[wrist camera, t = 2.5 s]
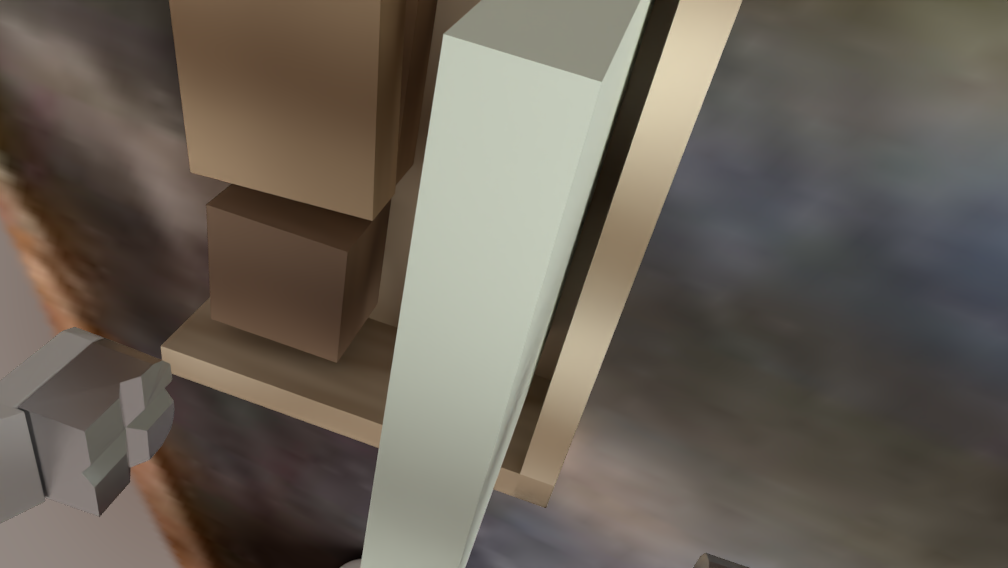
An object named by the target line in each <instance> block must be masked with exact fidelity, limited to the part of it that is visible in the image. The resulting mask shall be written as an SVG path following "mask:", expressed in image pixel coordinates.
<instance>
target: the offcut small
mask: <svg viewBox="0 0 1008 568" xmlns="http://www.w3.org/2000/svg"><path fill="white" fill-rule="evenodd" d="M390 206H391V199H390V200H389V202H388V203H387V204H386V205H385V206H384V208H383V209H382V210H381V211H380V212H379V214H378V215H377V216H376V217H375V219H374V220H373V221H371V220H367V219H363V218H359V217H356V216H352V215H348V214H344V213H341V212H337V211H333V210H329V209H326V208H322V207H318V206H314V205H311V204H307V203H303V202H299V201H296V200H292V199H288V198H284V197H281V196H277V195H273V194H269V193H266V192H262V191H258V190H254V189H251V188H247V187H243V186H239V185H236V184H231V185H230V186H229V187H227V188H226V189H225V190H224V191H222V192H221V193H220V194H219V195H217V196H216V197H215V198H214V199H213V200H211V201H210V202H209V203H208V204H206V211H207V235H208V259H209V283H210V308H211V319H213V320H216V321H219V322H222V323H225V324H227V325H230V326H233V327H236V328H239V329H242V330H245V331H247V332H250V333H253V334H256V335H259V336H262V337H264V338H267V339H270V340H273V341H276V342H279V343H282V344H284V345H287V346H290V347H293V348H296V349H299V350H302V351H304V352H307V353H310V354H313V355H316V356H319V357H322V358H324V359H327V360H330V361H333V362H336V363H337V362H338V361H339V359H340V358H341V356H342V355H343V353H344V352H345V350H346V349H347V347H348V346H349V345H350V343H351V342H352V340H353V339H354V337H355V336H356V334H357V333H358V332H359V330H360V329H361V327H362V326H363V324H364V323H365V321H366V320H367V318H368V317H369V316H370V314H371V313H372V311H373V310H374V308H375V307H376V305H377V304H378V297H379V289H380V282H381V274H382V267H383V259H384V251H385V244H386V236H387V229H388V221H389V213H390Z"/></svg>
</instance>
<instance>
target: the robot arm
mask: <svg viewBox="0 0 1008 568" xmlns="http://www.w3.org/2000/svg"><path fill="white" fill-rule="evenodd" d="M171 381H172V374H171V366H170V363H167V362H165V361H163V360H160V359H158V358H155V357H153V356H150V355H147V354H145V353H142V352H140V351H137V350H134V349H132V348H129V347H127V346H124V345H122V344H119V343H116V342H114V341H111V340H109V339H106V338H103V337H100V336H98V335H95V334H92V333H90V332H87V331H84V330H82V329H79V328H76V327H73V328H70V329H67V330H64V331H62V332H60V333H59V334H58V335H56V336H55V337H54V338H53V339H51V340H50V341H49V342H48V343H46V344H45V345H44V346H43V347H42V348H40V349H39V350H38V351H36V352H35V353H34V354H33V355H31V356H30V357H29V358H28V359H26V360H25V361H24V362H23V363H21V364H20V365H19V366H18V367H17V368H15V369H14V370H13V371H11V372H10V373H9V374H8V375H6V376H5V377H4V378H3V379H1V380H0V523H3V522H5V521H7V520H9V519H11V518H13V517H15V516H17V515H19V514H21V513H23V512H25V511H27V510H29V509H31V508H33V507H35V506H37V505H39V504H41V503H43V502H45V498H47V499H50V500H53V501H56V502H59V503H61V504H64V505H67V506H70V507H73V508H76V509H79V510H81V511H84V512H87V513H90V514H93V515H96V516H99V517H100V515H102V513H103V512H104V511H105V510H106V509H107V508H108V507H109V505H110V504H111V503H112V502H113V501H114V500H115V498H116V497H117V496H118V495H119V494H120V493H121V492H122V491H123V490H124V489H125V487H126V486H127V485H128V484H129V483H130V467H133V466H135V465H138V464H140V463H143V462H145V461H148V460H150V459H151V458H152V456H153V455H154V454H155V453H156V452H157V451H158V449H159V448H160V447H161V446H162V444H163V442H164V440H165V438H166V436H167V435H168V433H169V431H170V429H171V426H172V422H173V417H174V401H173V400H172V398H171V397H170V395H169V394H168V393H167V391H166V390H165V387H166V386H167V385H168V384H169V383H170V382H171ZM693 568H749V567H746V566H743V565H740V564H737V563H734V562H731V561H728V560H725V559H722V558H719V557H716V556H714V555H711V554H708V553H705V554H703V555H702V556H700V558H699V559H698V561H697V562H696V564H695V565H694V567H693Z"/></svg>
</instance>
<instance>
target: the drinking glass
mask: <svg viewBox="0 0 1008 568" xmlns="http://www.w3.org/2000/svg"><path fill="white" fill-rule="evenodd" d="M361 560H362V559H356V560H353V561H350V562H347V563H346V564H344V565H342V566H341V567H340V568H360V566H361Z"/></svg>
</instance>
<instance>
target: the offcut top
mask: <svg viewBox="0 0 1008 568" xmlns="http://www.w3.org/2000/svg"><path fill="white" fill-rule="evenodd" d="M169 5H170V13H171V21H172V29H173V37H174V45H175V53H176V61H177V69H178V77H179V85H180V93H181V101H182V109H183V117H184V125H185V133H186V141H187V149H188V157H189V165H190V172H191V173H194V174H198V175H202V176H206V177H209V178H213V179H217V180H221V181H224V182H228V183H232V184H236V185H239V186H243V187H247V188H251V189H254V190H258V191H262V192H266V193H269V194H273V195H277V196H281V197H284V198H288V199H292V200H296V201H299V202H303V203H307V204H311V205H314V206H318V207H322V208H326V209H329V210H333V211H337V212H341V213H344V214H348V215H352V216H356V217H359V218H363V219H367V220H371V221H373V220H374V219H375V217H376V216H377V215H378V214H379V212H380V211H381V210H382V209H383V208H384V206H385V205H386V204H387V203H388V202H389V200H390V199H391V198H392V197H393V195H394V194H395V188H396V170H397V152H398V134H399V116H400V98H401V80H402V62H403V44H404V26H405V8H406V0H169Z"/></svg>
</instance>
